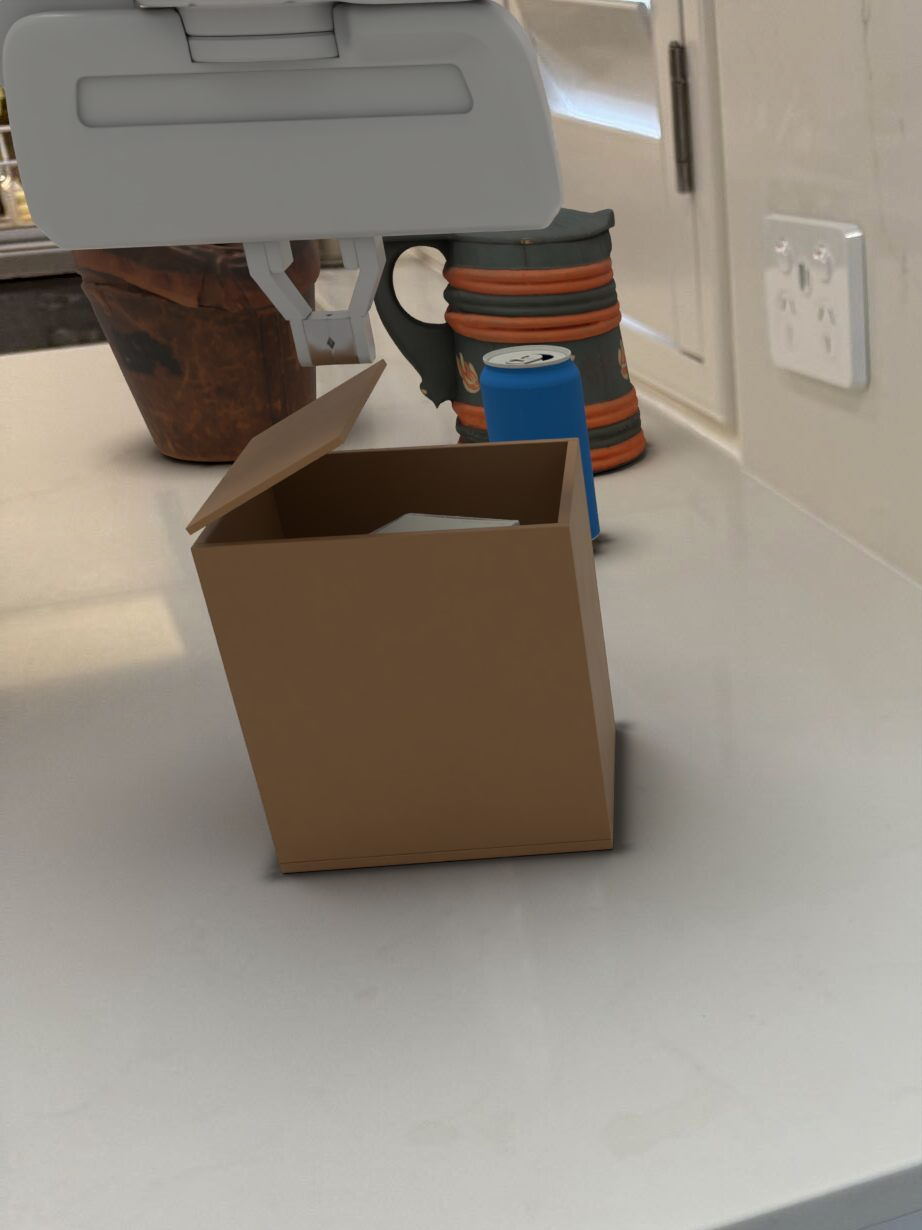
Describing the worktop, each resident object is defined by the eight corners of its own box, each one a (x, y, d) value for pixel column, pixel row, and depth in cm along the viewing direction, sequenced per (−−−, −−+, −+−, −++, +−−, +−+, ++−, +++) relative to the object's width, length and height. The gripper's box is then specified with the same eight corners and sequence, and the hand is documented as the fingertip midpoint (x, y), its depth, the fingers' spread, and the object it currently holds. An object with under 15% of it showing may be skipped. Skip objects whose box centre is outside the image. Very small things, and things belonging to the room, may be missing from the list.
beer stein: (418, 498, 118) (359, 188, 106) (398, 450, 129) (342, 164, 117) (664, 469, 123) (635, 169, 111) (624, 425, 134) (594, 148, 122)
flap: (190, 535, 62) (184, 528, 62) (256, 444, 73) (251, 438, 73) (343, 443, 61) (338, 436, 61) (387, 364, 72) (383, 358, 72)
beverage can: (620, 540, 109) (598, 349, 102) (556, 567, 105) (528, 370, 97) (552, 526, 112) (525, 340, 104) (487, 551, 108) (454, 359, 100)
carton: (281, 873, 72) (189, 547, 63) (328, 747, 83) (255, 454, 74) (612, 849, 73) (569, 525, 64) (615, 727, 84) (578, 437, 75)
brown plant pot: (388, 413, 139) (341, 176, 128) (303, 477, 123) (241, 213, 112) (195, 413, 141) (133, 179, 130) (87, 476, 125) (5, 216, 114)
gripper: (-79, -47, 54) (59, 393, 62) (527, -65, 55) (580, 367, 64) (-19, -50, 59) (101, 358, 67) (536, -66, 60) (584, 334, 69)
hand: (339, 362), depth 65 cm, fingers closed
